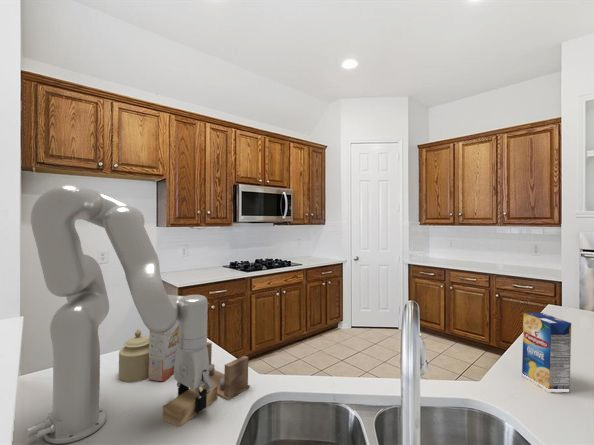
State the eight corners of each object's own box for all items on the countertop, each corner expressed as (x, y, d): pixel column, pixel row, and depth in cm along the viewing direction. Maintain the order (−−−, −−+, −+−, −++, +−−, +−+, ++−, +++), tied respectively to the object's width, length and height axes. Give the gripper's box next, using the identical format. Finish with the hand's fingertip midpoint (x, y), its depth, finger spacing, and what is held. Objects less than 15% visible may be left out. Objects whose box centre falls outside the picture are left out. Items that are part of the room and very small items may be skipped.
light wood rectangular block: (179, 427, 79) (180, 412, 79) (163, 420, 81) (163, 405, 81) (217, 399, 91) (217, 386, 91) (201, 394, 94) (201, 381, 94)
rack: (227, 400, 90) (228, 367, 90) (185, 378, 102) (186, 349, 102) (249, 387, 97) (250, 356, 97) (208, 368, 109) (208, 341, 109)
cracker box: (164, 382, 99) (165, 317, 99) (147, 380, 100) (148, 315, 100) (187, 363, 113) (188, 305, 113) (172, 361, 114) (173, 304, 114)
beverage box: (549, 393, 98) (550, 323, 97) (521, 375, 109) (523, 312, 108) (569, 393, 98) (571, 323, 98) (540, 375, 109) (542, 312, 109)
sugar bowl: (129, 362, 113) (130, 320, 113) (162, 360, 115) (162, 319, 115) (112, 383, 98) (113, 336, 98) (150, 381, 100) (150, 334, 100)
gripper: (162, 337, 88) (161, 400, 88) (201, 354, 78) (200, 424, 78) (185, 330, 94) (184, 388, 94) (224, 344, 84) (223, 410, 84)
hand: (191, 404), depth 86 cm, fingers open, 7 cm apart
